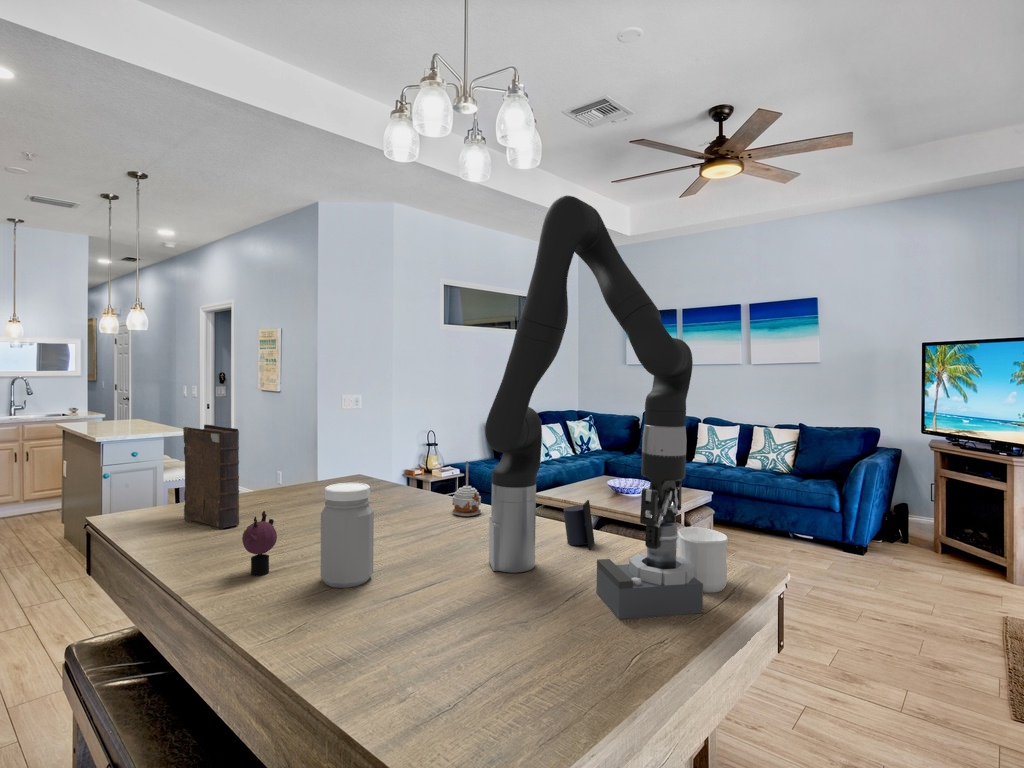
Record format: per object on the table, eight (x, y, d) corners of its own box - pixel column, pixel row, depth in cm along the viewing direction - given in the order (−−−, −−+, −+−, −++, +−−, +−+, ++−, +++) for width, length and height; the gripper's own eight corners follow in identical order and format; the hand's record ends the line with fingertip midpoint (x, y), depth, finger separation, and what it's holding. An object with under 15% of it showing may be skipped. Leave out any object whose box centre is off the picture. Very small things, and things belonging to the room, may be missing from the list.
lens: (653, 580, 97) (654, 527, 97) (641, 569, 102) (642, 519, 102) (682, 578, 98) (683, 526, 98) (668, 567, 103) (669, 518, 103)
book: (242, 526, 144) (242, 428, 143) (213, 532, 138) (213, 430, 137) (209, 515, 154) (209, 423, 153) (182, 521, 148) (181, 425, 147)
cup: (701, 597, 103) (703, 544, 102) (663, 579, 112) (664, 530, 111) (738, 588, 107) (740, 537, 107) (698, 571, 116) (700, 524, 116)
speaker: (602, 543, 133) (598, 499, 133) (590, 550, 129) (585, 505, 129) (575, 540, 138) (571, 497, 138) (562, 546, 133) (558, 503, 133)
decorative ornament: (479, 518, 155) (480, 463, 155) (451, 517, 155) (451, 463, 155) (481, 510, 163) (482, 459, 163) (454, 510, 163) (455, 458, 163)
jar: (383, 574, 112) (383, 483, 111) (353, 592, 103) (354, 494, 102) (341, 568, 115) (341, 480, 114) (309, 585, 106) (309, 489, 105)
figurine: (273, 563, 117) (273, 505, 117) (289, 573, 111) (289, 513, 111) (232, 572, 111) (232, 512, 111) (246, 584, 106) (247, 520, 105)
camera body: (618, 619, 93) (619, 576, 93) (596, 592, 104) (597, 555, 104) (703, 612, 96) (704, 572, 96) (673, 588, 107) (674, 551, 107)
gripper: (671, 458, 92) (668, 557, 92) (697, 448, 103) (694, 536, 104) (627, 453, 96) (624, 547, 96) (657, 444, 108) (654, 528, 108)
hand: (660, 541), depth 100 cm, fingers open, 8 cm apart
